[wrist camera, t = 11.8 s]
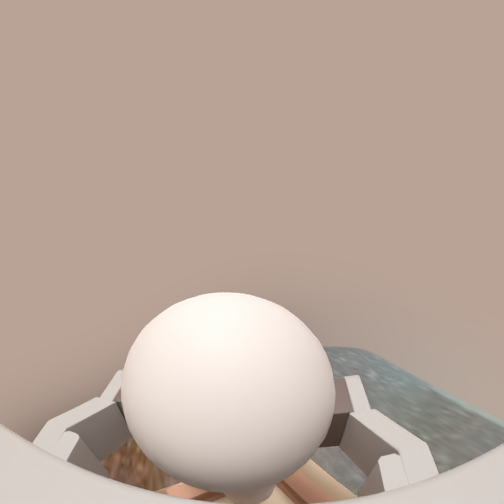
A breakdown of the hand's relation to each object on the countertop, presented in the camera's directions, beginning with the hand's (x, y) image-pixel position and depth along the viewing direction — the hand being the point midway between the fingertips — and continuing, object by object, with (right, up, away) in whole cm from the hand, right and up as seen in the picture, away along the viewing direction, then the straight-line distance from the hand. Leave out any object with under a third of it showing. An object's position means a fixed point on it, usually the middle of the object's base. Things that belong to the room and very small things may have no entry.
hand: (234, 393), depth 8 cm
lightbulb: (0, -7, +2) cm, 7 cm away
